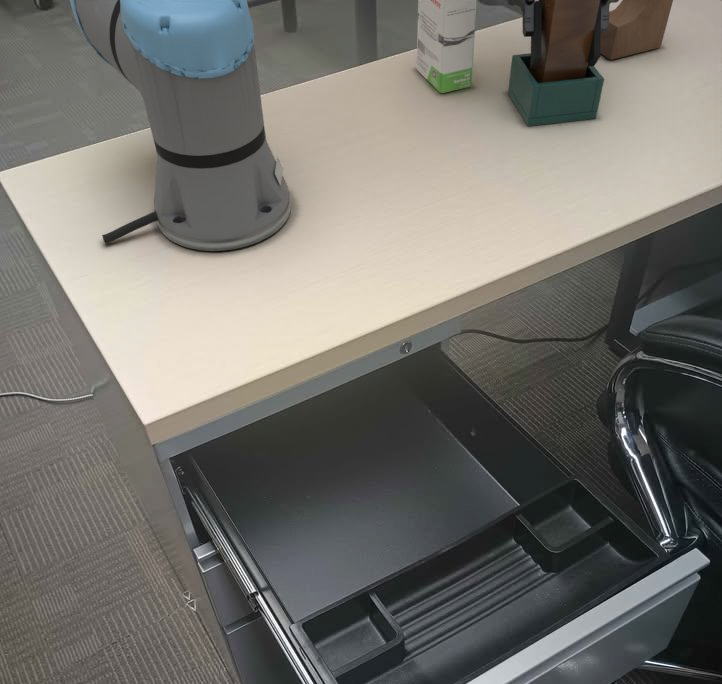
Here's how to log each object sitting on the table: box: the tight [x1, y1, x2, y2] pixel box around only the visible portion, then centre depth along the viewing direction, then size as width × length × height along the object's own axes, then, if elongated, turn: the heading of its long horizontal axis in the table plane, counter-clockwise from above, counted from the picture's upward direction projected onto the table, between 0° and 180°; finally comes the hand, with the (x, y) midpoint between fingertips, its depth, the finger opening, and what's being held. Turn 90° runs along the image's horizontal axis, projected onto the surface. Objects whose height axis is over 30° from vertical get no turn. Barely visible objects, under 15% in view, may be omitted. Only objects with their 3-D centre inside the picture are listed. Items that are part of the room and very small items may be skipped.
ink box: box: [415, 0, 478, 94], centre depth 102 cm, size 9×5×12 cm, turn 21°
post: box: [529, 0, 600, 83], centre depth 94 cm, size 6×6×11 cm
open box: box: [507, 52, 605, 127], centre depth 99 cm, size 9×9×5 cm
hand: (564, 62), depth 93 cm, fingers closed on post, 6 cm apart
